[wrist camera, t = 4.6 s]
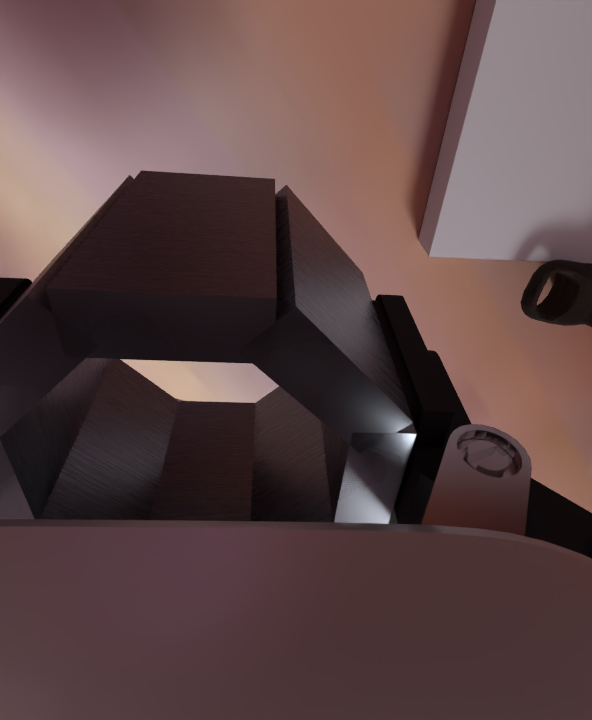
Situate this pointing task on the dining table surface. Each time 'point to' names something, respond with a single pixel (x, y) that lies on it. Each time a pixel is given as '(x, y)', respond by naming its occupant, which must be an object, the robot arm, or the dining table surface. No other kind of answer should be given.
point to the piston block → (518, 138)
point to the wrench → (561, 294)
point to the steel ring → (201, 344)
